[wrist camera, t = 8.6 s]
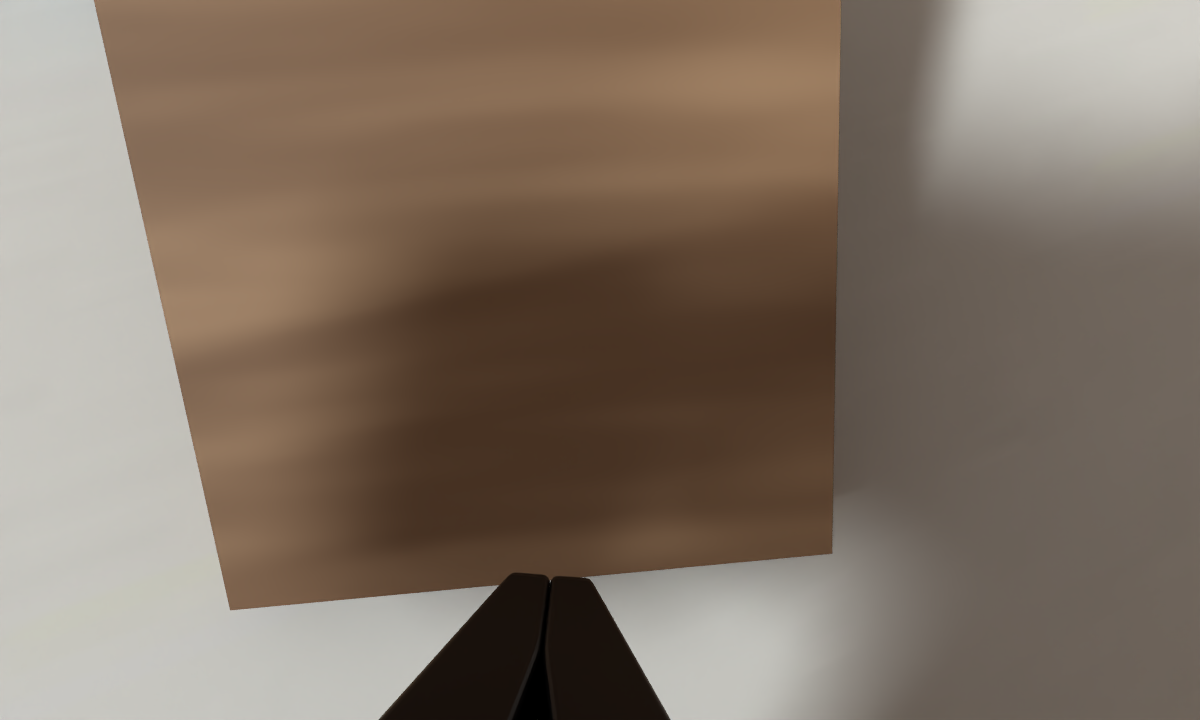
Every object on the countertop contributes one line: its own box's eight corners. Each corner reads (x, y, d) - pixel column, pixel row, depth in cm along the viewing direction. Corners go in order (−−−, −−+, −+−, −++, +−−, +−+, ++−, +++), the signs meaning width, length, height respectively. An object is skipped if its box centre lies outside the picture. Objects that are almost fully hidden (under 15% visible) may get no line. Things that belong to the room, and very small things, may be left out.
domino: (831, 554, 17) (842, -129, 13) (230, 609, 16) (76, -78, 13) (806, 506, 18) (810, -118, 15) (255, 556, 18) (122, -72, 14)
